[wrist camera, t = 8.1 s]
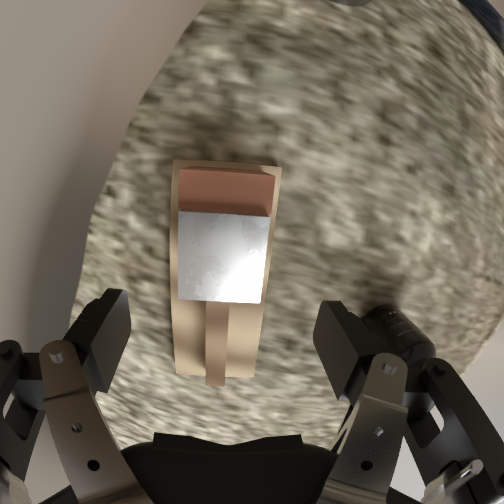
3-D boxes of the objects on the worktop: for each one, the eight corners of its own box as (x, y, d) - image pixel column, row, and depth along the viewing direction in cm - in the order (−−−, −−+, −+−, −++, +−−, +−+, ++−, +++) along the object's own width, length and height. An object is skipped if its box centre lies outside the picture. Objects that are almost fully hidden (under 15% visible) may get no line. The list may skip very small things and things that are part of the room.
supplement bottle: (390, 343, 32) (435, 402, 21) (348, 349, 32) (388, 418, 20) (406, 300, 30) (462, 356, 19) (362, 304, 29) (417, 371, 18)
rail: (175, 159, 22) (156, 160, 16) (278, 166, 23) (299, 171, 17) (177, 365, 30) (171, 409, 23) (252, 368, 31) (259, 412, 24)
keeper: (190, 196, 22) (178, 211, 16) (258, 201, 22) (270, 217, 17) (187, 265, 23) (178, 299, 18) (251, 268, 24) (259, 303, 19)
